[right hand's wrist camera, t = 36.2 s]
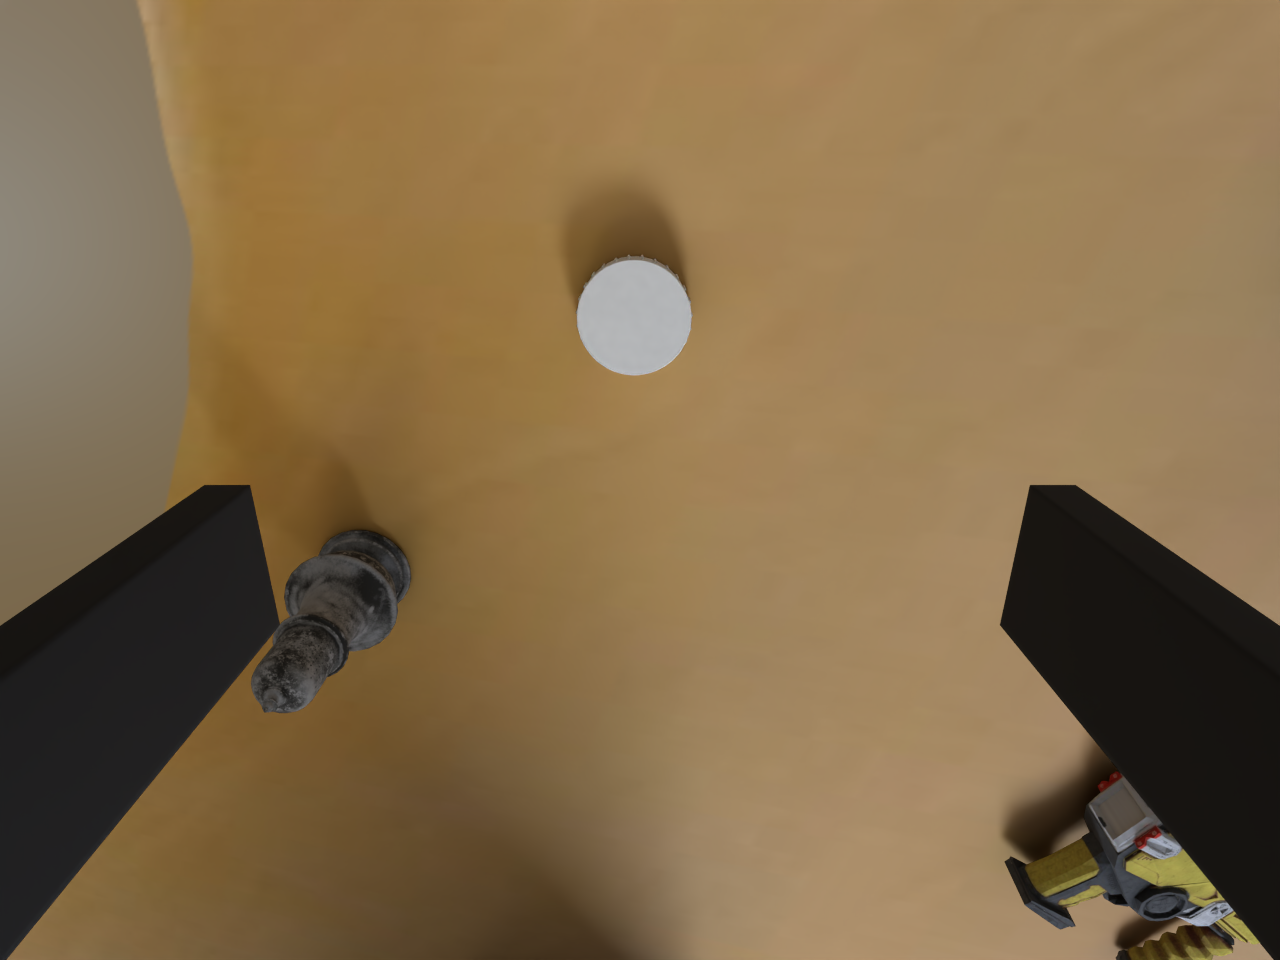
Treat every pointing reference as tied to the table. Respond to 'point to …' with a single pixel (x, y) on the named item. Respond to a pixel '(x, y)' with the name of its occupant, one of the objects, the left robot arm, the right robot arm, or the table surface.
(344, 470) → the table surface
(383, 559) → the dark grey chess piece
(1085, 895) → the toy gun
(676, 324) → the lid
